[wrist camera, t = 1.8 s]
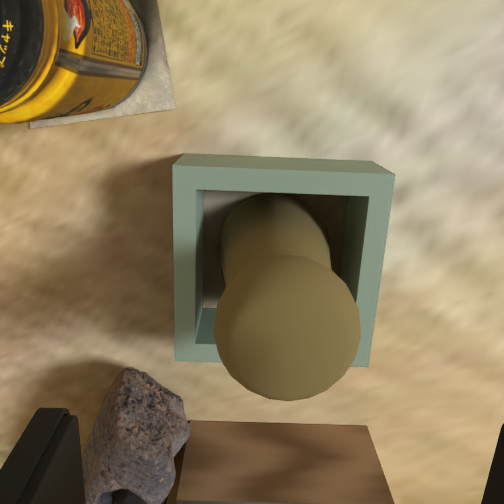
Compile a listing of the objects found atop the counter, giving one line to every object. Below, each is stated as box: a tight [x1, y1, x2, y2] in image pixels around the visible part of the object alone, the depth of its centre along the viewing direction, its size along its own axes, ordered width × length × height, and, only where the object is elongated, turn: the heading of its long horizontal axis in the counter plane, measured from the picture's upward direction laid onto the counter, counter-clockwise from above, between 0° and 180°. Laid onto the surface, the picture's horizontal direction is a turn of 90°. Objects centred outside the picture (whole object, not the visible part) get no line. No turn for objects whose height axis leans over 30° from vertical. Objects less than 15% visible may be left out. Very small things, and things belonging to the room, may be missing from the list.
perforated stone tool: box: [82, 367, 191, 504], centre depth 27 cm, size 15×5×7 cm, turn 157°
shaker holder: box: [172, 153, 395, 367], centre depth 24 cm, size 10×10×4 cm
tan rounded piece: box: [213, 192, 361, 401], centre depth 21 cm, size 6×6×11 cm
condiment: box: [0, 0, 176, 129], centre depth 17 cm, size 7×8×12 cm
